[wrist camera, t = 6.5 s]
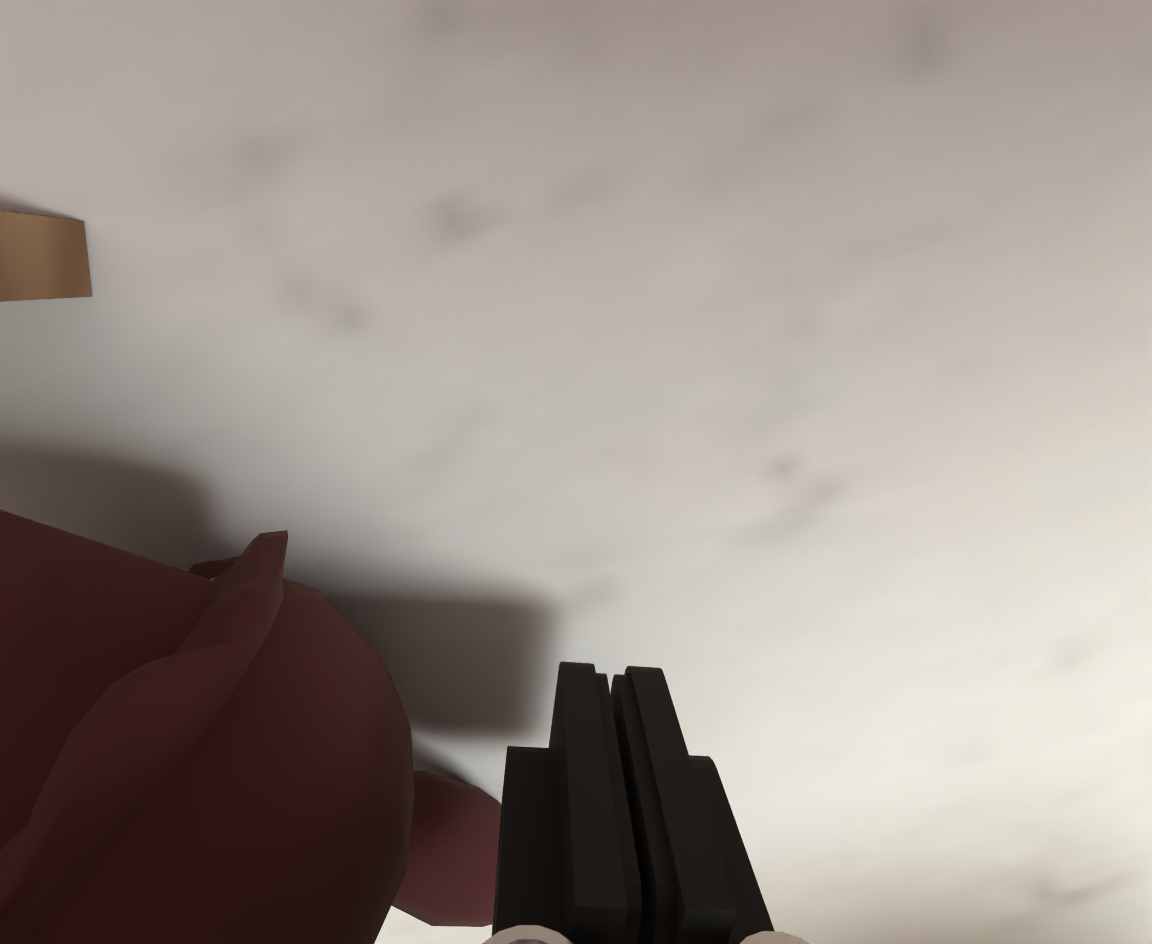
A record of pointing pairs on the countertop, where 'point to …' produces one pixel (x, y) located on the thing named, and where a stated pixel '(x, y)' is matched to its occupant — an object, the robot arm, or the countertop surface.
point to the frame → (42, 257)
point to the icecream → (211, 760)
